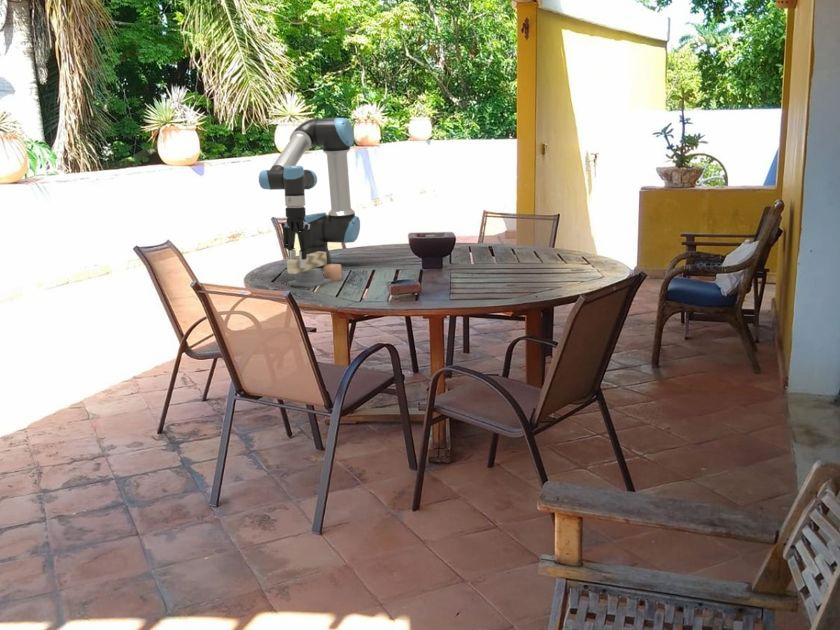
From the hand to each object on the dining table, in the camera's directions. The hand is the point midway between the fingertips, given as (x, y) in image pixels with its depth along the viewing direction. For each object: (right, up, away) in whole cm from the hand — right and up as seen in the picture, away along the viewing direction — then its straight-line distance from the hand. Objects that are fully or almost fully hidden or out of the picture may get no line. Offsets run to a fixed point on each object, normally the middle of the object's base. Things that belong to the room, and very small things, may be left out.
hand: (298, 267), depth 314 cm
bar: (+3, 0, +5) cm, 6 cm away
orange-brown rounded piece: (+12, -4, +14) cm, 19 cm away
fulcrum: (+4, -6, +7) cm, 10 cm away
